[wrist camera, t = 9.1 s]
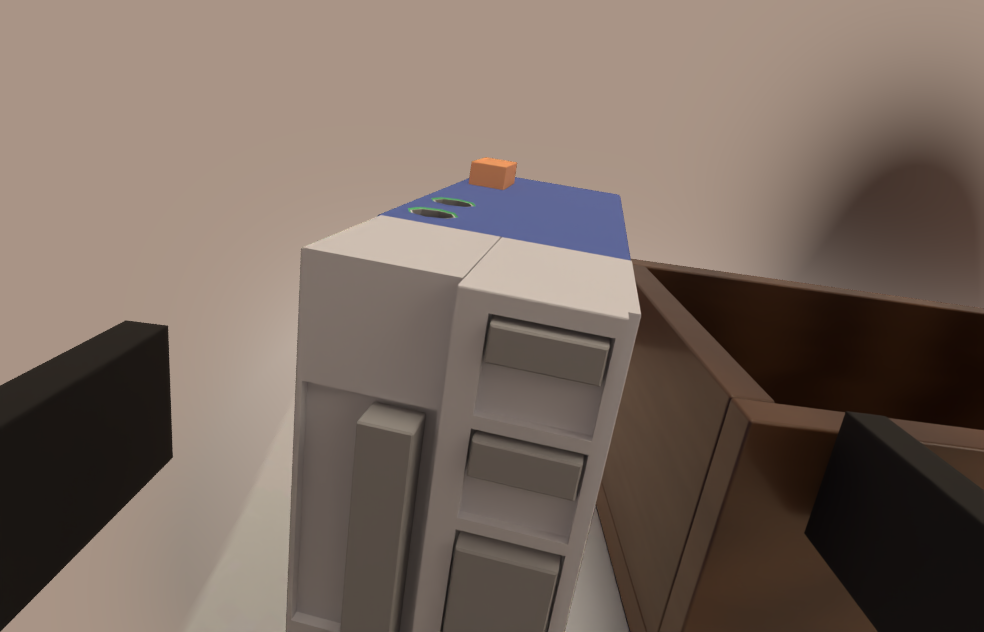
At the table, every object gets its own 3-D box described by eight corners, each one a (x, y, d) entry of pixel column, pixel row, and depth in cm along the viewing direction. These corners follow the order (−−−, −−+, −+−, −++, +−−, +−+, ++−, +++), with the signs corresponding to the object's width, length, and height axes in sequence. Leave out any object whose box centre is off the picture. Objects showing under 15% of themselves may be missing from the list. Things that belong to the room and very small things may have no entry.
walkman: (419, 623, 16) (483, 152, 12) (523, 651, 15) (625, 176, 11) (251, 1067, 8) (270, 203, 4) (445, 1141, 8) (659, 275, 4)
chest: (652, 719, 14) (750, 420, 11) (576, 432, 26) (614, 256, 24) (1356, 789, 15) (1596, 527, 12) (965, 480, 27) (1044, 316, 25)
